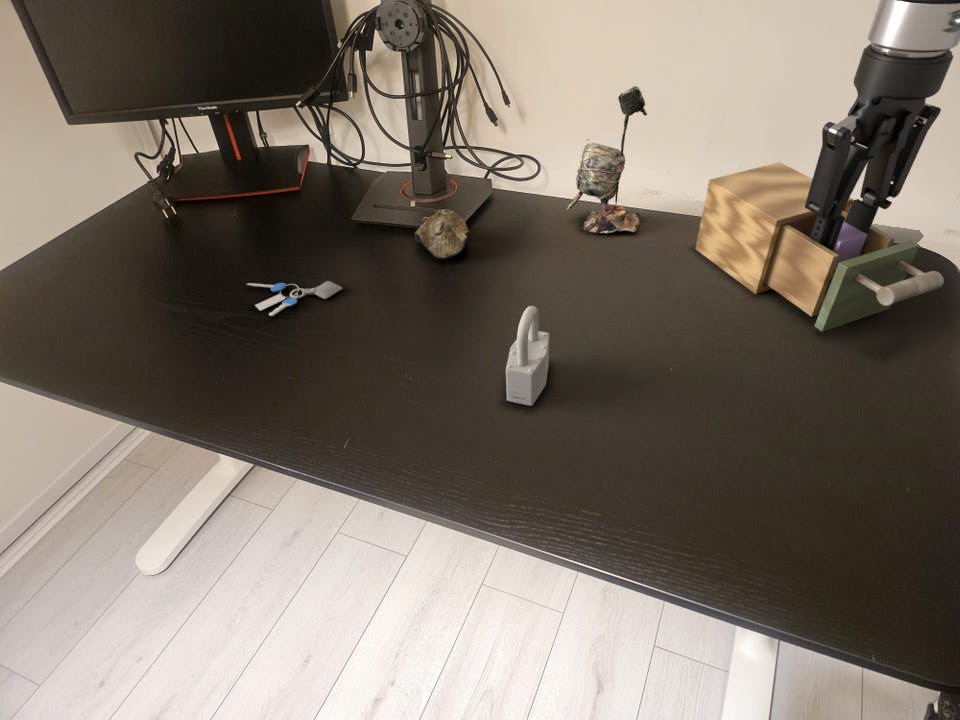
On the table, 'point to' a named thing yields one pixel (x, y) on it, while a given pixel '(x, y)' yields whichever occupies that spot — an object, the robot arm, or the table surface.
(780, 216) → the wooden drawer box
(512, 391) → the padlock
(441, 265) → the table surface
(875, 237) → the pull-out drawer
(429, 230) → the fossilized seashell
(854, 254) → the purple block
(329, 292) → the key chain
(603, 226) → the metal wire sculpture
